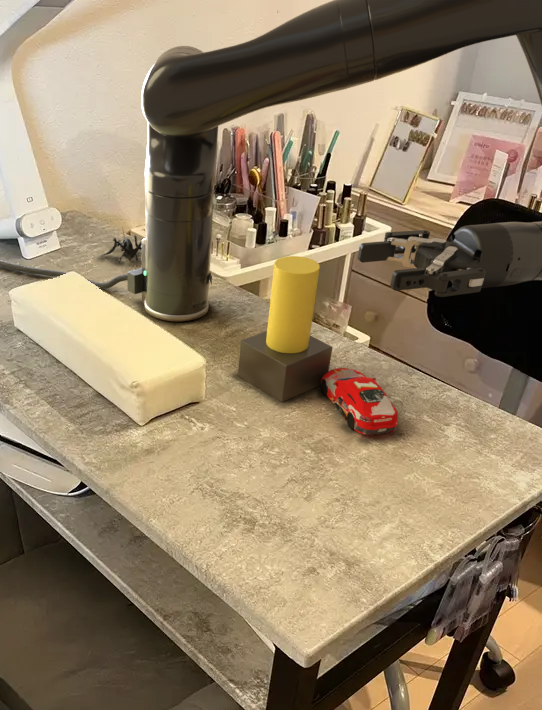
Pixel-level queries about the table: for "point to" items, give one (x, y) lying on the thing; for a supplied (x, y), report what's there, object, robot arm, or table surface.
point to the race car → (360, 401)
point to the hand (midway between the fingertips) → (375, 266)
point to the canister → (292, 304)
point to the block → (283, 367)
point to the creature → (126, 248)
